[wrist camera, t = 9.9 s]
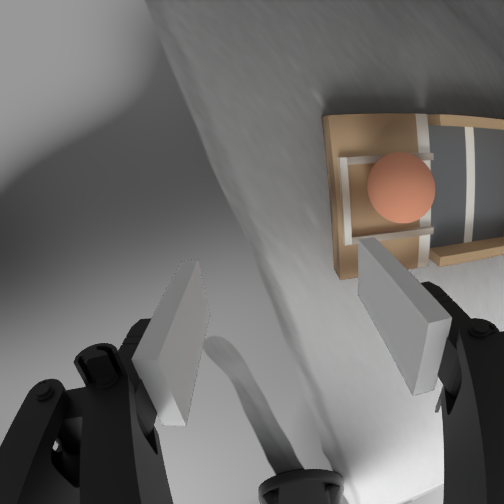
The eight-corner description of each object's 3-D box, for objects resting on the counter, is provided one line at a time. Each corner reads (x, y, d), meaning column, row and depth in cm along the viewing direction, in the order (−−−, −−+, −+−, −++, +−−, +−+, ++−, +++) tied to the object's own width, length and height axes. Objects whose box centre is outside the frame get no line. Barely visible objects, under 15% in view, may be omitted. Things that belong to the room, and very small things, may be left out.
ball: (423, 225, 24) (454, 211, 19) (366, 232, 25) (387, 218, 19) (410, 165, 25) (436, 140, 19) (354, 168, 25) (371, 141, 20)
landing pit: (504, 242, 29) (527, 255, 25) (417, 256, 29) (437, 274, 25) (507, 121, 24) (534, 123, 20) (414, 114, 24) (438, 113, 20)
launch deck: (417, 256, 29) (430, 268, 27) (334, 268, 30) (341, 282, 27) (414, 114, 24) (430, 113, 22) (321, 116, 25) (329, 115, 22)
